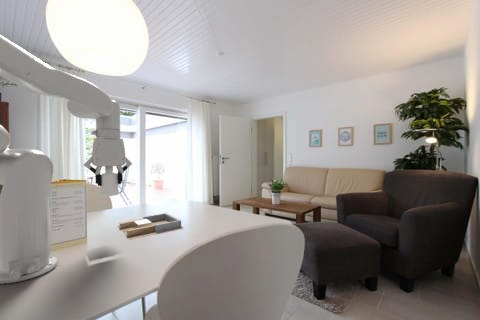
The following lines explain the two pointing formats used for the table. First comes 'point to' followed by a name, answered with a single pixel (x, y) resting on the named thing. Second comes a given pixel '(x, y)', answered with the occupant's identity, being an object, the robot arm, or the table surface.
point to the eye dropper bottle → (109, 182)
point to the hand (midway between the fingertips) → (109, 184)
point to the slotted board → (142, 229)
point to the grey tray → (164, 226)
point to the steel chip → (142, 223)
